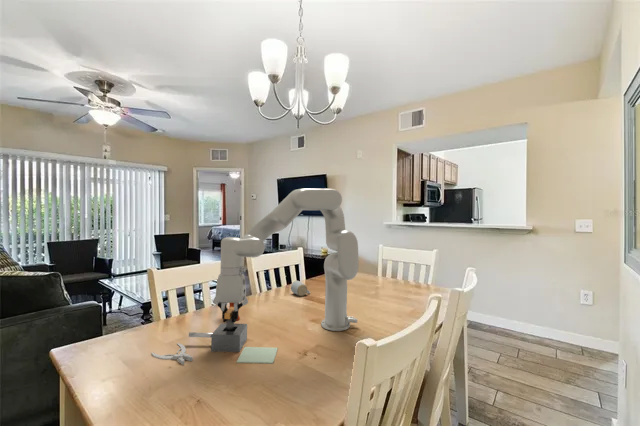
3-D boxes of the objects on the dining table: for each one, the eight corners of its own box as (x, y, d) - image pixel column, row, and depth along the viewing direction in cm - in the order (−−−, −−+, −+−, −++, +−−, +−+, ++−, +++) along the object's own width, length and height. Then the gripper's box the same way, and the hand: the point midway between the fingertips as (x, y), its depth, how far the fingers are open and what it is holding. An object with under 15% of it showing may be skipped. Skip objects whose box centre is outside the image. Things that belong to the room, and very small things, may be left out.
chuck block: (246, 339, 111) (247, 323, 111) (239, 352, 101) (239, 335, 101) (195, 338, 111) (195, 322, 111) (182, 350, 101) (183, 333, 101)
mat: (277, 348, 104) (277, 347, 104) (273, 363, 94) (273, 362, 94) (244, 348, 104) (244, 346, 104) (236, 362, 94) (236, 361, 94)
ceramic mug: (297, 297, 164) (298, 284, 164) (290, 294, 171) (290, 281, 171) (312, 295, 170) (313, 282, 170) (305, 291, 177) (305, 279, 177)
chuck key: (236, 334, 109) (237, 306, 109) (230, 342, 102) (231, 313, 102) (229, 334, 109) (229, 306, 109) (222, 342, 102) (223, 313, 102)
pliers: (179, 340, 106) (202, 353, 97) (179, 344, 106) (201, 357, 97) (150, 350, 98) (172, 365, 89) (150, 355, 98) (172, 370, 89)
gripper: (255, 269, 109) (254, 317, 109) (213, 268, 109) (212, 316, 109) (250, 273, 102) (249, 325, 102) (205, 272, 102) (204, 324, 102)
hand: (230, 320), depth 106 cm, fingers closed on chuck key, 2 cm apart
